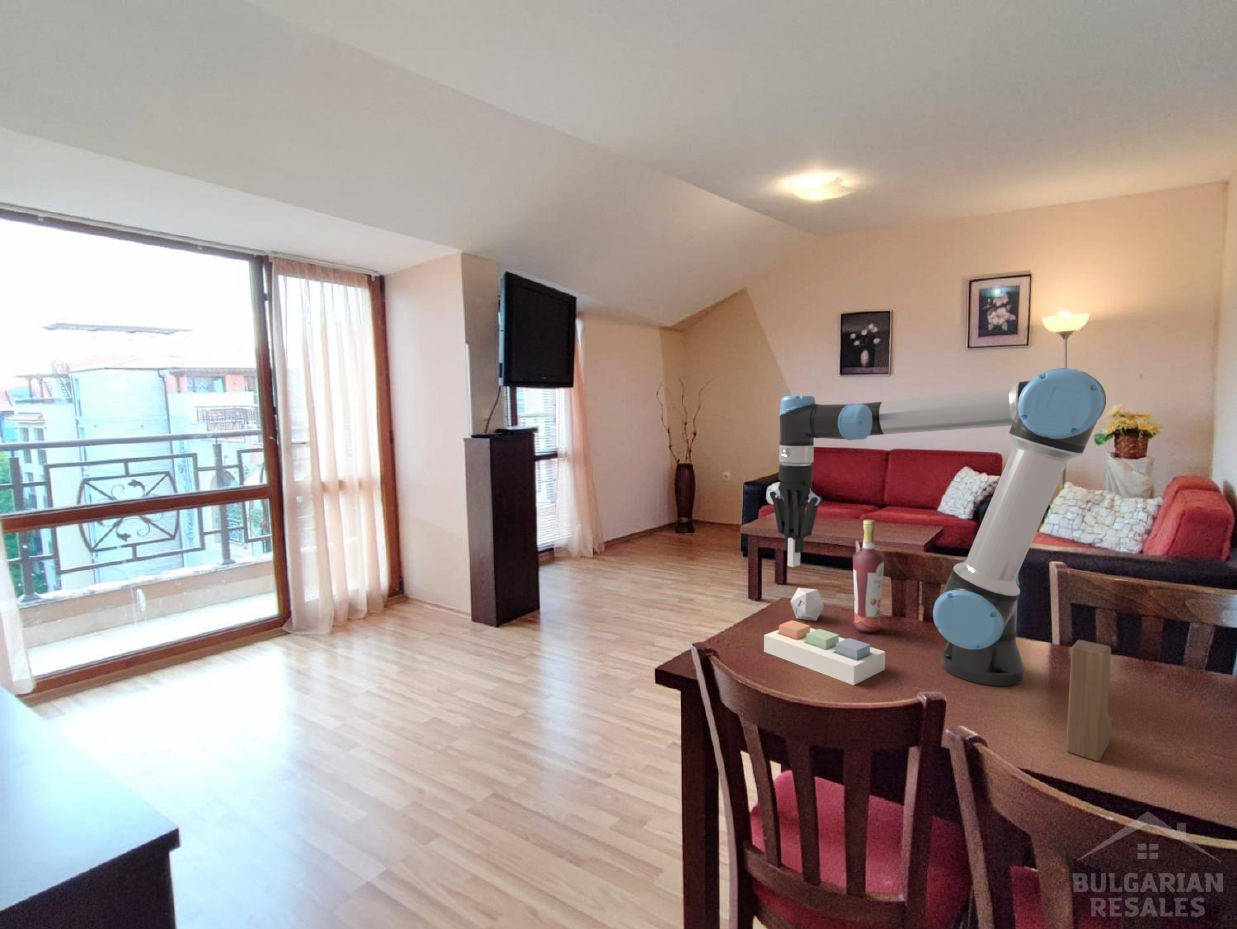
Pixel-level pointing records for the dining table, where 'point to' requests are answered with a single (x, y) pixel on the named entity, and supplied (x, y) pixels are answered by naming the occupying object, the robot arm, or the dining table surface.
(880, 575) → the liquor
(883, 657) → the control panel
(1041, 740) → the dining table surface
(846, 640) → the slate button
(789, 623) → the terracotta button
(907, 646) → the dining table surface
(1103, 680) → the wooden block
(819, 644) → the sage button
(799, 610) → the die
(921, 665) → the dining table surface
